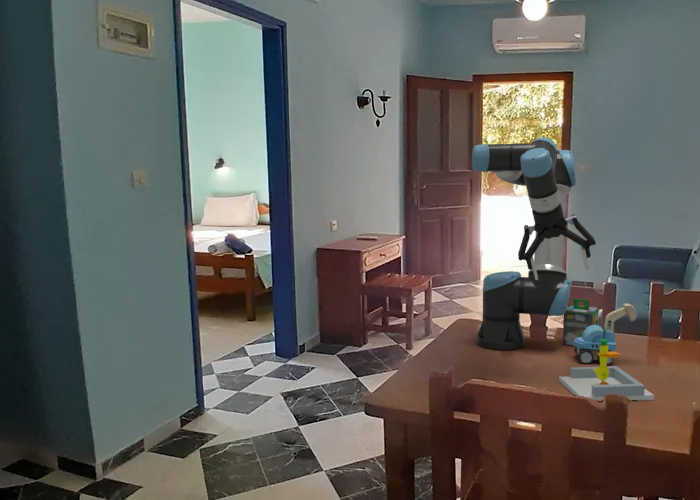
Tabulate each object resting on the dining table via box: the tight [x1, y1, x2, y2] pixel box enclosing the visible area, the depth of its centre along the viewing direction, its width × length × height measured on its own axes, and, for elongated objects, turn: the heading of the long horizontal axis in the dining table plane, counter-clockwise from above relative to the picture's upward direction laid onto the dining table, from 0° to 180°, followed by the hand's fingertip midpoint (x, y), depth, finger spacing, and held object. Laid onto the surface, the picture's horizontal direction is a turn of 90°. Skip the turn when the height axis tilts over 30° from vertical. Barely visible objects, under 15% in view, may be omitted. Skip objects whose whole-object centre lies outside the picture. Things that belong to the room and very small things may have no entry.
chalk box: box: [562, 298, 600, 347], centre depth 202 cm, size 9×9×15 cm
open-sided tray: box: [558, 365, 655, 402], centre depth 161 cm, size 18×15×4 cm
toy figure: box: [593, 339, 622, 385], centre depth 161 cm, size 7×4×12 cm, turn 84°
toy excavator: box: [574, 303, 638, 366], centre depth 184 cm, size 9×17×17 cm, turn 78°
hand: (561, 272), depth 174 cm, fingers open, 13 cm apart
